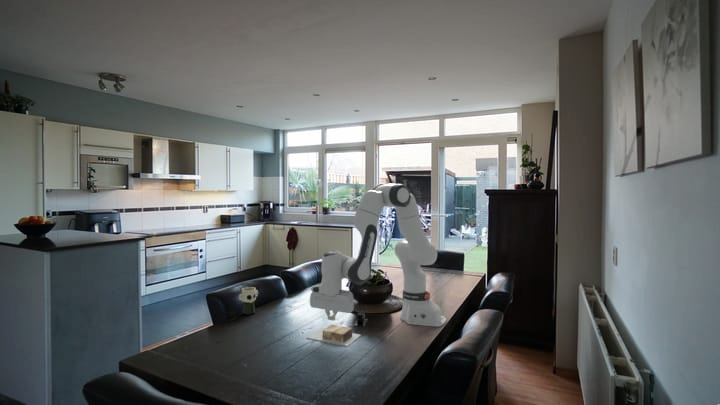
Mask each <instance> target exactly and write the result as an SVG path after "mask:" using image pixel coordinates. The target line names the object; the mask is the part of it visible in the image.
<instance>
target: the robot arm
mask: <svg viewBox="0 0 720 405" xmlns="http://www.w3.org/2000/svg"><path fill="white" fill-rule="evenodd" d="M384 207H387V208H391V207H393V208H394V209H395V213H396V220H397V224H398V229H399V233H400V235H402V236H403V238H405V239H404V240H403V239H402V240H399V241H397V243H395V246H394V253H395V256H396V258H397V259H398V261H399V263H400V266H401V270H402V275H403V290H402V307H401V308H402V309H401V313H400V316H399V318H400V320H402V321H403V322H405V323H406V324H408V325H414V326H415V325H416V326H424V327H437V328H438V327H442V326H444V325H445V324H446V322H447V318H446V316H444V315H442V311H441V307H440V306H439V305H438V304H436V303H435V301H433V300H432V299H431V292H428V291H427V275H426V273H425V272H424V270H423V269H422V266H430V265H431V266H432V265H434V264H435V262H436V261H437V258H438V251H437V248H436V247H435V246H434V245H433V244H432V243H431V242H430V240H429V238H428V237H427V235H426V233H425V231H424V229H423V226H422V225H423V224H422V220H421V216H420V212H419V206H418V204H417V200H416V198H415V196H414V195H413V194H412V193H411V192H410V189H409V188H408V187H407V186H406V184H405V185H404V184H402V183H390V182H389V183H383V184H381V183H380V184H377V185H376V186H374V187H373V188H372V189H370V190H366V191H365V193H364V194H363V195H362V197H361V199H360V202H359V203H358V205H357V208H356V211H355V214H354V218H353V224H354V227H355V229H356V230H357V231H358V233H359V234H360V236H361V243H360V246H359V247H360V248H359V251H358V255H357V258H355V257H352V256H348V255H346V254H344V253H342V252H341V251H339V250H329V251H326V252H325V253H324V254H323V256H322V260H321V269H320V270H321V283H319V284H316V285H314V286H312V287H311V288H310V289H311V290H310V291H311V292H310V297H309V305H310V307H311V308H314V309H319V310H324V312H325V315H326V316H327V320H328V321H333V322H334V321H336V315H337V314H338V313H343V314H344V313H346V314H350V313H352V312H353V311H354V310H355V309H354V308H355V307H354V294H353V292H351V291H350V290H348V289H347V290H345V289H343V286H342V285H343V283H342V282H343V281H342V280H344V279H346V280H349V281H350V282H352V283H353V284H355V285H363V284H365V283H366V282H368V280H369V279H370V277H371V275H372V262H373V258H374V252H375V249H376V243H377V239H378V224H379V220H380V218H381V214H382V210H383V209H384ZM330 311H332V313H333V314H331V312H330Z"/></svg>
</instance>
